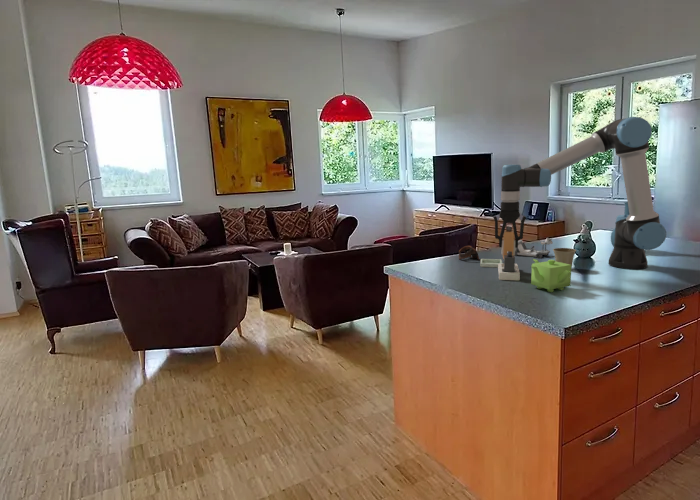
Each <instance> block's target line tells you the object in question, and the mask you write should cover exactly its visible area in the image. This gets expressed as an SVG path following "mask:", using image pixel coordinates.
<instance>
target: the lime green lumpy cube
mask: <svg viewBox="0 0 700 500" xmlns="http://www.w3.org/2000/svg"><path fill="white" fill-rule="evenodd" d="M532 261H534V262H532V263H531V266H530V268H531V278H530V279H531V281H530V285H532V286H535V288H536V289H539V290H540V289H545V290H546V291H547V292H548V293H554V290H556V289H558V290H559V291H565V288H567V287H571V281H572V268H571V265H570V264H565V263H561V262H557V261H555V259H548V260H547V261H541V262H540V261H539V260H538V259H537V258H532Z"/></svg>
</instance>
